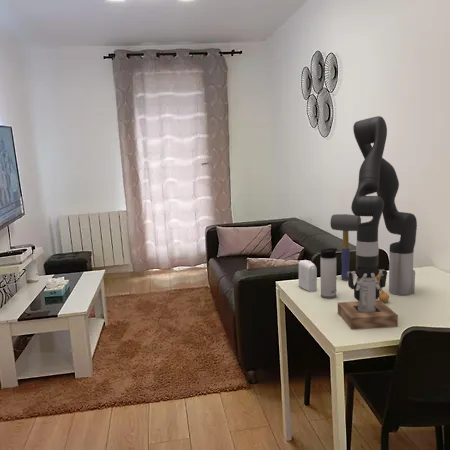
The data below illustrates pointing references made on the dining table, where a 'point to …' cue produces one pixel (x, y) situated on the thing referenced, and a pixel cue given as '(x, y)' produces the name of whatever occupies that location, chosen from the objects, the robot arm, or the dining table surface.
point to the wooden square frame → (367, 316)
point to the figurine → (382, 292)
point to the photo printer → (307, 275)
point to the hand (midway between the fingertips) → (366, 299)
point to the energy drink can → (367, 296)
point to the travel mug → (328, 273)
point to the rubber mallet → (345, 236)
